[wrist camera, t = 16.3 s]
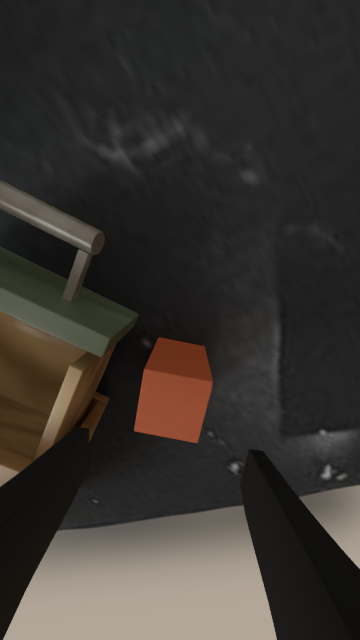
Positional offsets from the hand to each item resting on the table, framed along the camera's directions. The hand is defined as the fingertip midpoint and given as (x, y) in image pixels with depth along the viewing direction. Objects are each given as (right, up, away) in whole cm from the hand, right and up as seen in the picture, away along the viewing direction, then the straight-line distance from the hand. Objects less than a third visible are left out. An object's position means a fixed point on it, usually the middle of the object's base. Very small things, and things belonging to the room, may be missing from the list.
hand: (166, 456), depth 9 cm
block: (0, +2, +9) cm, 9 cm away
